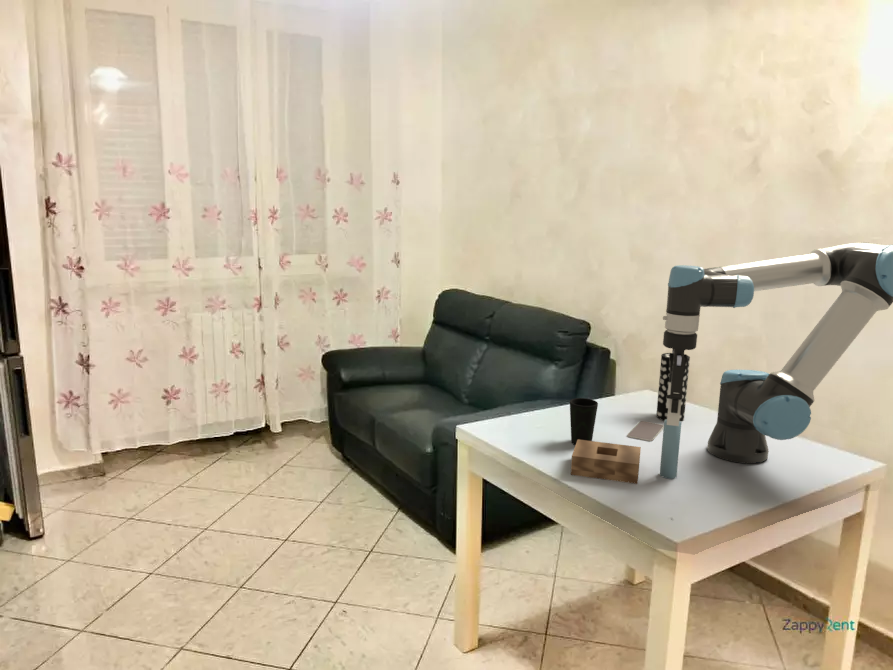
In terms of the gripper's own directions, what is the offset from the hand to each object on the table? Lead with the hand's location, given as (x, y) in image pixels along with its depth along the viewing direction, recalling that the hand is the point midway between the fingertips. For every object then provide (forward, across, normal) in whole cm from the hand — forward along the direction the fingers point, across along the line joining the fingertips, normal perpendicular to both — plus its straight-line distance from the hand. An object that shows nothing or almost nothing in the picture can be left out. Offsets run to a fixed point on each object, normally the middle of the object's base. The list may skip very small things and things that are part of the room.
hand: (672, 416), depth 162 cm
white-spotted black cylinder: (+15, -47, +1) cm, 50 cm away
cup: (+16, -15, -23) cm, 31 cm away
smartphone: (+16, -31, -6) cm, 35 cm away
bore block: (+16, +2, -15) cm, 21 cm away
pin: (+15, 0, 0) cm, 15 cm away
